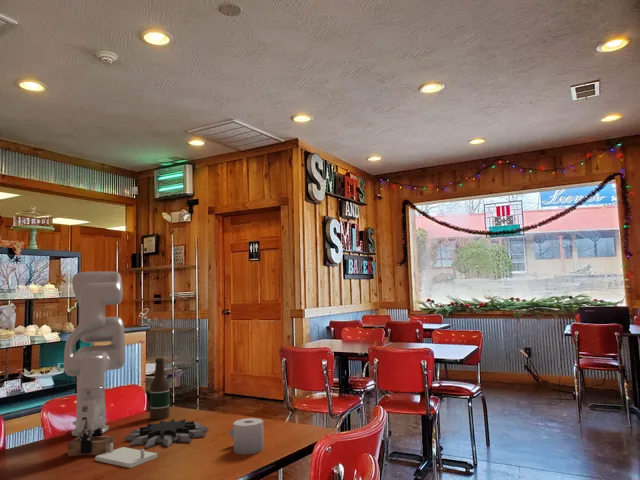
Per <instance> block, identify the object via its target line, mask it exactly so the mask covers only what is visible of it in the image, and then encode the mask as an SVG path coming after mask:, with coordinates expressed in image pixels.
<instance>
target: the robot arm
mask: <svg viewBox="0 0 640 480" xmlns="http://www.w3.org/2000/svg"><path fill="white" fill-rule="evenodd" d="M71 283H72V284H71V285H72V291H73V294H74V296H75V299H76V301H77V305H78V307H79V311H78V312H79V315H78V319H79V323H78V325H77V326H76V327H75V328H74V329H73V331H71V333H70V334H69V335H68V337H67V339H66V340H65V341H66V342H65V346H64V355H63V359H64V360H63V371H64V373H65V374H66V375H67V376H68V377H69V376H70V377H76V419H75V420H73V421H72V425H74V426H75V428H73V430H72V431H71V436H74V437H80V441H81V453H91V447H92V440H90V438H91V436H103V434H104V433H106V432H108V431H109V429H110V428H109V427H110V426H109V425H107V409H106V398H105V393H106V391H105V389H106V388H105V384H106V381H105V380H106V375H105V373H106V372H107V371H113V370H120V369H122V368H123V366H124V365H125V363H126V362H125V360H126V348H125V347H126V345H125V344H126V343H125V342H126V341H125V324H124V320H123V319H122V318H121V317H119V316H106V306H111V305H113V306H114V305H120V304H121V302H122V301H123V298H124V297H123V296H124V293H123V292H124V291H123V290H124V289H123V287H124V286H123V281H122V276H121V273H120V272H118V271H111V270H110V271H109V270H108V271H107V270H106V271H81V272H77V273H75V274H73V277H72V281H71ZM79 340H80V341H81V342H83V343H89V344H92V343H106V342H107V343H108V342H110V343H111V344H105V345H103V344H102V345H89V346H88V345H87V346H84V347H83V346H82V347H81V348H78V349H77V351H76V352H75V353H74V348H75V345H76V343H77V342H78V341H79Z"/></svg>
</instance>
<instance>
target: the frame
mask: <svg viewBox="0 0 640 480" xmlns="http://www.w3.org/2000/svg"><path fill="white" fill-rule="evenodd" d="M90 440H92V447H91V453H81V441H80V437H79V436H76V438H74V439H72V440H71V441H69V442H68V445H67V446H68V447H67V455H68V457H72V456H73V457H74V456H98V455H101V454H104V453H107V452H110V443H113V450H115V435H102V436H91V438H90Z"/></svg>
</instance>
